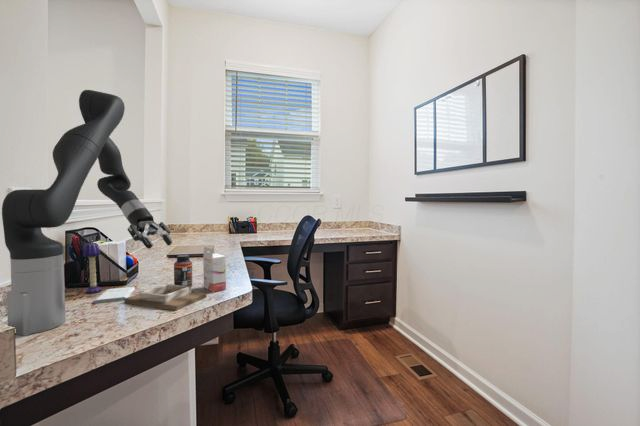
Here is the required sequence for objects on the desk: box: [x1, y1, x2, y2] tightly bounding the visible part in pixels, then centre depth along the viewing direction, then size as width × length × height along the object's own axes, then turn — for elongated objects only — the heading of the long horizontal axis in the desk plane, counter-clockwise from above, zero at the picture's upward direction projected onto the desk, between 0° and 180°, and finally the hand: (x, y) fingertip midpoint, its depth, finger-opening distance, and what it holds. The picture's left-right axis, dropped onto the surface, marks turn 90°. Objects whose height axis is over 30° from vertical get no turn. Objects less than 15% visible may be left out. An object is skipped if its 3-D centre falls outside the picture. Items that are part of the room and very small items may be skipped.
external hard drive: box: [93, 286, 136, 304], centre depth 94 cm, size 2×8×12 cm
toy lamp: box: [82, 242, 102, 295], centre depth 98 cm, size 5×5×17 cm
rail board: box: [124, 283, 207, 311], centre depth 90 cm, size 12×20×3 cm, turn 71°
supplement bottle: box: [173, 254, 193, 288], centre depth 104 cm, size 6×6×11 cm
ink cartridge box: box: [202, 246, 227, 293], centre depth 102 cm, size 9×5×15 cm, turn 43°
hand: (161, 245), depth 107 cm, fingers open, 8 cm apart
